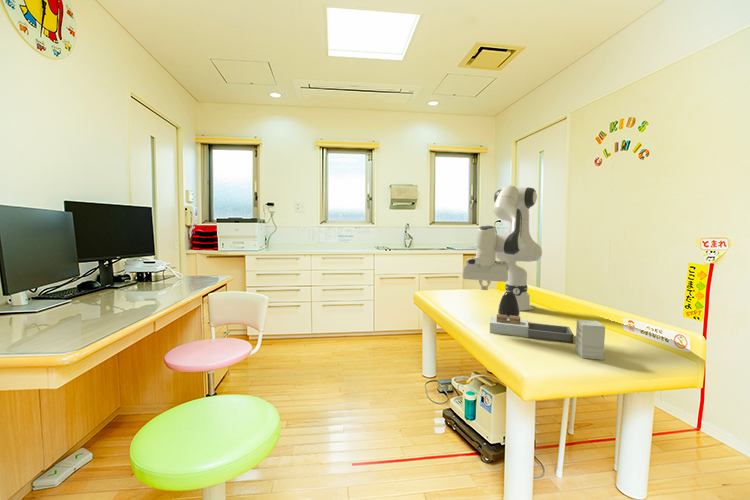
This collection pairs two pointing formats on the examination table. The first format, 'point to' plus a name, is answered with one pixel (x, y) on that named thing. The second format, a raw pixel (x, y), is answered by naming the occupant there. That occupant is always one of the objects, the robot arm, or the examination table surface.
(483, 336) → the examination table surface
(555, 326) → the tray
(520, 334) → the pale grey flat block
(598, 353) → the supplement box
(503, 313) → the pump dispenser
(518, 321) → the tile
